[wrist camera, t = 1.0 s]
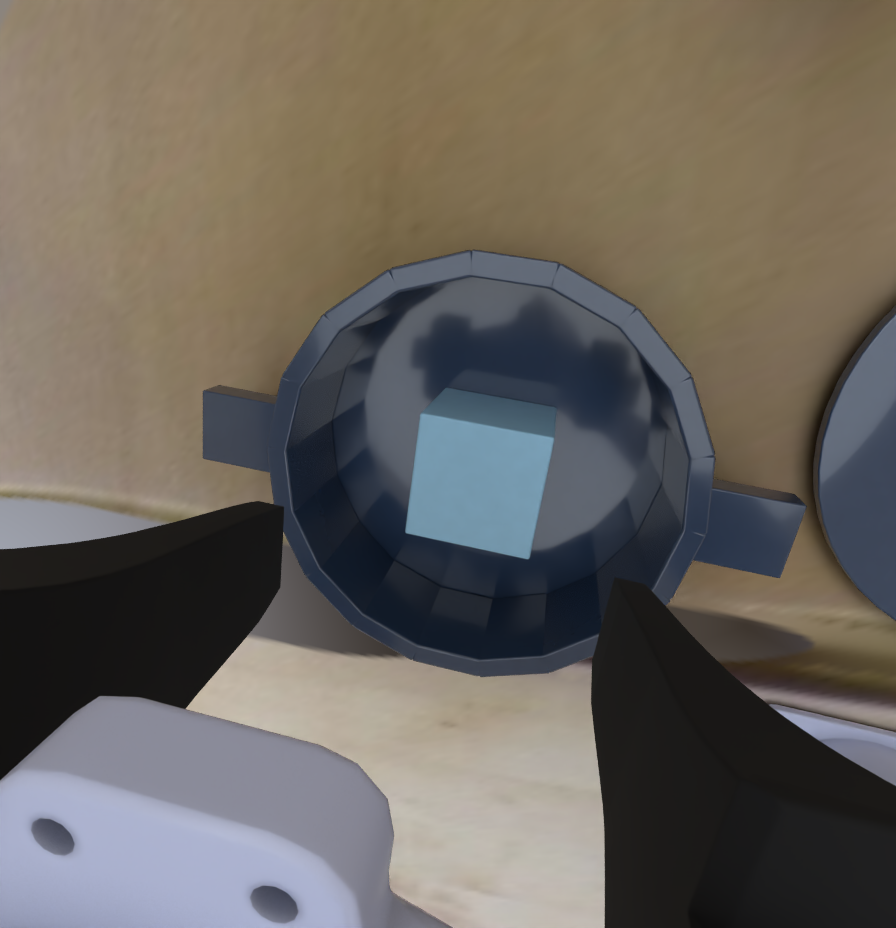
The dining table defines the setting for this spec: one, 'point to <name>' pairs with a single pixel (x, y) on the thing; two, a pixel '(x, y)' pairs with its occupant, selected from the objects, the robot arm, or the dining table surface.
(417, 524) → the blue cube
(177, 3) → the dining table surface
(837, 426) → the lid
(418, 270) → the pot
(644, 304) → the dining table surface
